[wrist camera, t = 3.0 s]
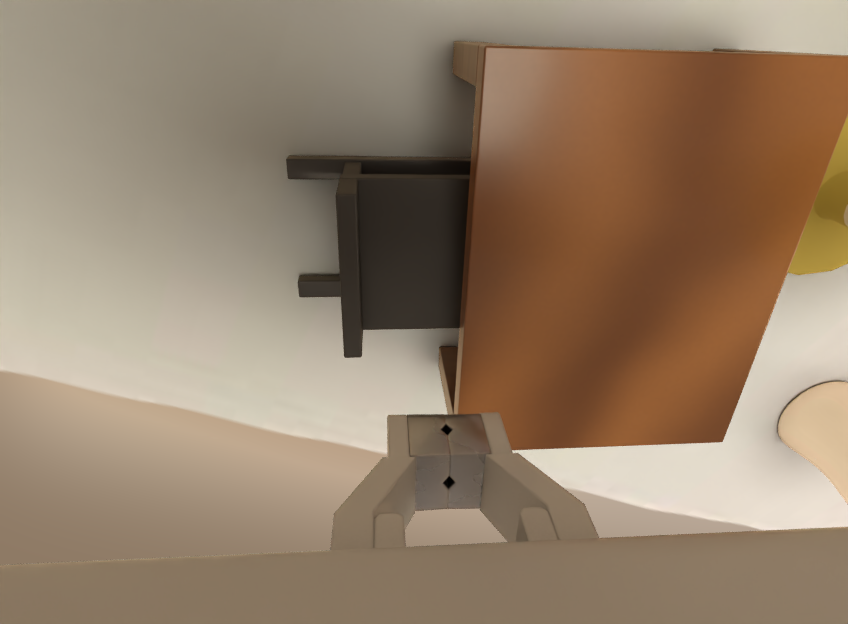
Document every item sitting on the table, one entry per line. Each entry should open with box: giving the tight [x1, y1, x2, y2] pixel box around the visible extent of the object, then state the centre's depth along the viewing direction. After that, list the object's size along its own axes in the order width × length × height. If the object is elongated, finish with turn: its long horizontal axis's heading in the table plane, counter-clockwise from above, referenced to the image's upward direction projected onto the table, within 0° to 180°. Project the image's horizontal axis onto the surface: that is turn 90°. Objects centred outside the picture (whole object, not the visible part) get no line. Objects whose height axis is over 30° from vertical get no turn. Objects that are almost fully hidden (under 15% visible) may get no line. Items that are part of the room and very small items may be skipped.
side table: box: [438, 41, 848, 450], centre depth 26 cm, size 14×18×8 cm
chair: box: [286, 156, 471, 358], centre depth 25 cm, size 10×8×7 cm
